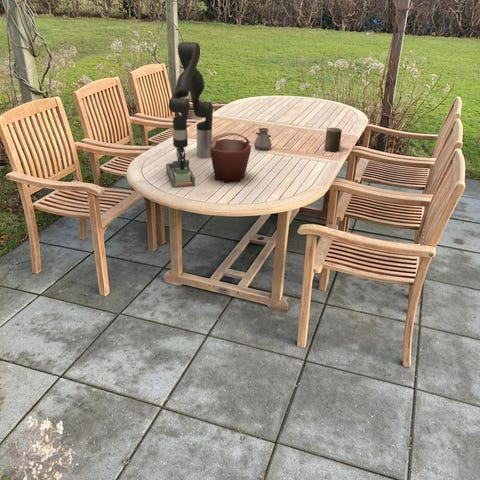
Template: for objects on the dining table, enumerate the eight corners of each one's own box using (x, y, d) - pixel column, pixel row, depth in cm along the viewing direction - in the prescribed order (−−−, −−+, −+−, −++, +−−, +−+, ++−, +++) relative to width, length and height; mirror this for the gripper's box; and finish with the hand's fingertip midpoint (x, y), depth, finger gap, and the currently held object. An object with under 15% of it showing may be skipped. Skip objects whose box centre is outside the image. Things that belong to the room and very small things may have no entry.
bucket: (211, 186, 271) (211, 141, 259) (202, 171, 289) (202, 128, 277) (254, 182, 277) (257, 138, 265) (243, 168, 296) (244, 126, 283)
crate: (187, 175, 279) (187, 157, 274) (190, 182, 271) (190, 163, 266) (172, 177, 277) (171, 158, 272) (175, 184, 269) (174, 164, 263)
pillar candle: (337, 153, 323) (341, 130, 316) (322, 151, 326) (325, 128, 318) (340, 148, 331) (343, 126, 324) (325, 146, 334) (328, 124, 327)
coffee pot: (257, 144, 333) (258, 122, 326) (273, 147, 330) (275, 124, 322) (246, 154, 316) (246, 131, 308) (263, 157, 312) (264, 134, 305)
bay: (187, 170, 290) (186, 162, 287) (194, 185, 270) (194, 177, 268) (166, 171, 287) (165, 163, 284) (172, 187, 267) (172, 179, 265)
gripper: (189, 141, 257) (190, 171, 265) (184, 132, 269) (185, 162, 277) (175, 141, 255) (176, 172, 263) (170, 133, 267) (172, 163, 275)
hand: (181, 167), depth 270 cm, fingers open, 6 cm apart
